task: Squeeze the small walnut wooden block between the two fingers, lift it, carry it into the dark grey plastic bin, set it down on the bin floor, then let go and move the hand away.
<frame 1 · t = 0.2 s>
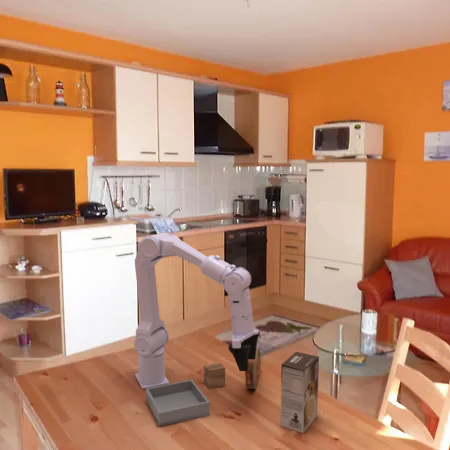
hand: (247, 364, 119), 11 cm above the table, tool pointing down, fingers open, 7 cm apart
coffee box: (299, 421, 112), on the table
tin: (252, 382, 132), on the table
bin: (176, 407, 117), on the table
block: (214, 384, 130), on the table
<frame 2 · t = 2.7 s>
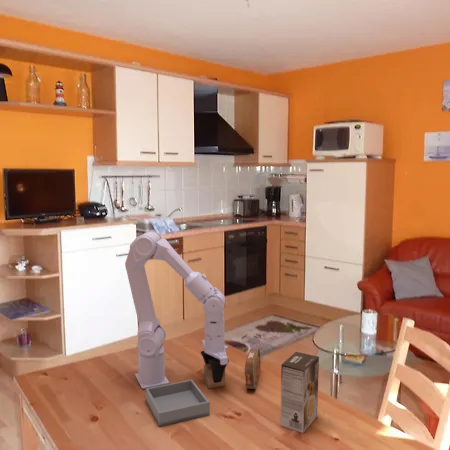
hand: (214, 378, 130), 2 cm above the table, tool pointing down, fingers closed on block, 4 cm apart
block: (214, 383, 130), on the table, touching gripper
everything else where it was.
when the fingers open (3 cm above the table, at t = 7.3 s): block stays where it is, resting on bin.
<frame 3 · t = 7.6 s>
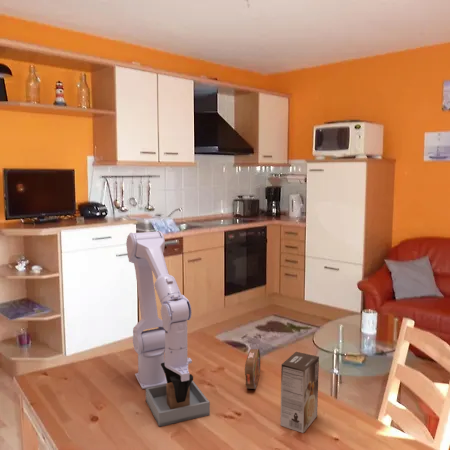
hand: (176, 395, 117), 4 cm above the table, tool pointing down, fingers open, 6 cm apart
block: (178, 404, 117), point 1 cm above the table, touching bin
everything else where it was.
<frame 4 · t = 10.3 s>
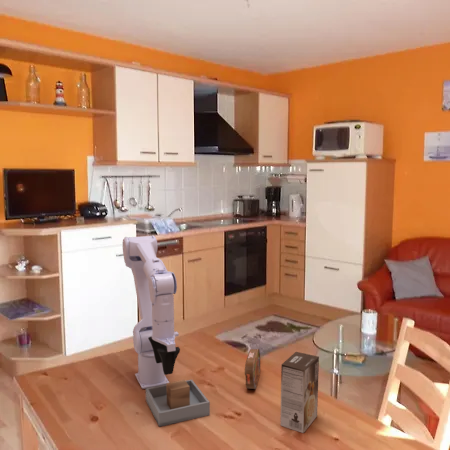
hand: (164, 367, 119), 9 cm above the table, tool pointing down, fingers open, 7 cm apart
nothing on the table moved.
at the end: block inside the target area on the bin (0.3 cm from its centre), point 0.8 cm above the bin's base; block tilted 0°; the gripper is holding nothing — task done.
